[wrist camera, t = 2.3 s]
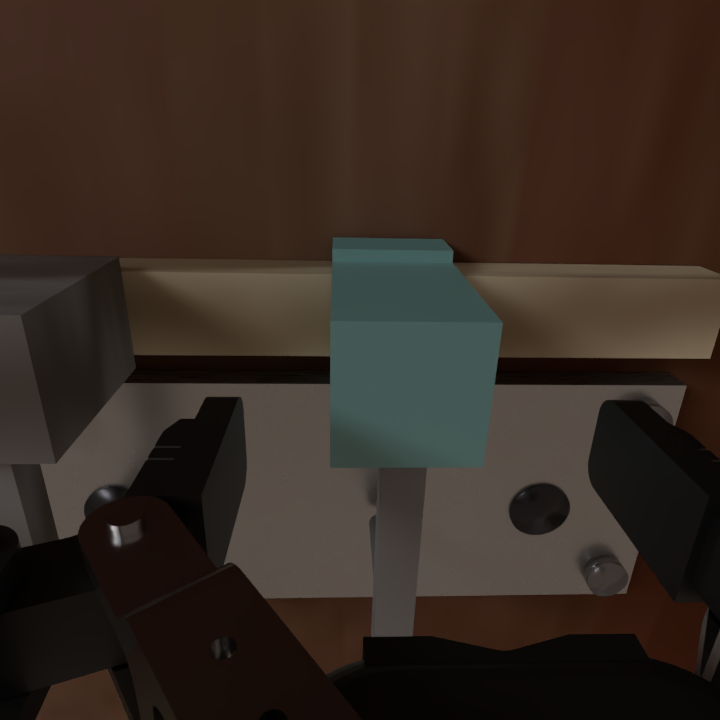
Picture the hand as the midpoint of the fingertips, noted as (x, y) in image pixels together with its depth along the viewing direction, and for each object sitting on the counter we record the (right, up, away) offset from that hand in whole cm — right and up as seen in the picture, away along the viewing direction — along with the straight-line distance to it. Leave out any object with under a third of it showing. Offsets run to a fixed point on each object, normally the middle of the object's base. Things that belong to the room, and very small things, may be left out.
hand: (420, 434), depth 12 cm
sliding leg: (-1, 0, +10) cm, 10 cm away
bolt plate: (-2, -4, +12) cm, 13 cm away
